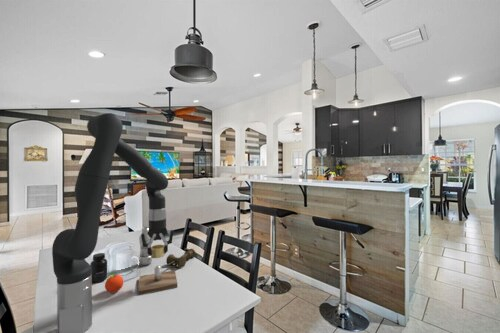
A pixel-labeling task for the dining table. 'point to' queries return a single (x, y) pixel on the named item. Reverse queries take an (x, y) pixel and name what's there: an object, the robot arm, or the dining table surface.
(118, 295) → the dining table surface
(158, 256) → the brass ring
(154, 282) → the walnut base plate
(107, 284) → the clementine
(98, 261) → the supplement bottle
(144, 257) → the plastic bottle
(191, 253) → the kendama
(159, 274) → the steel post
